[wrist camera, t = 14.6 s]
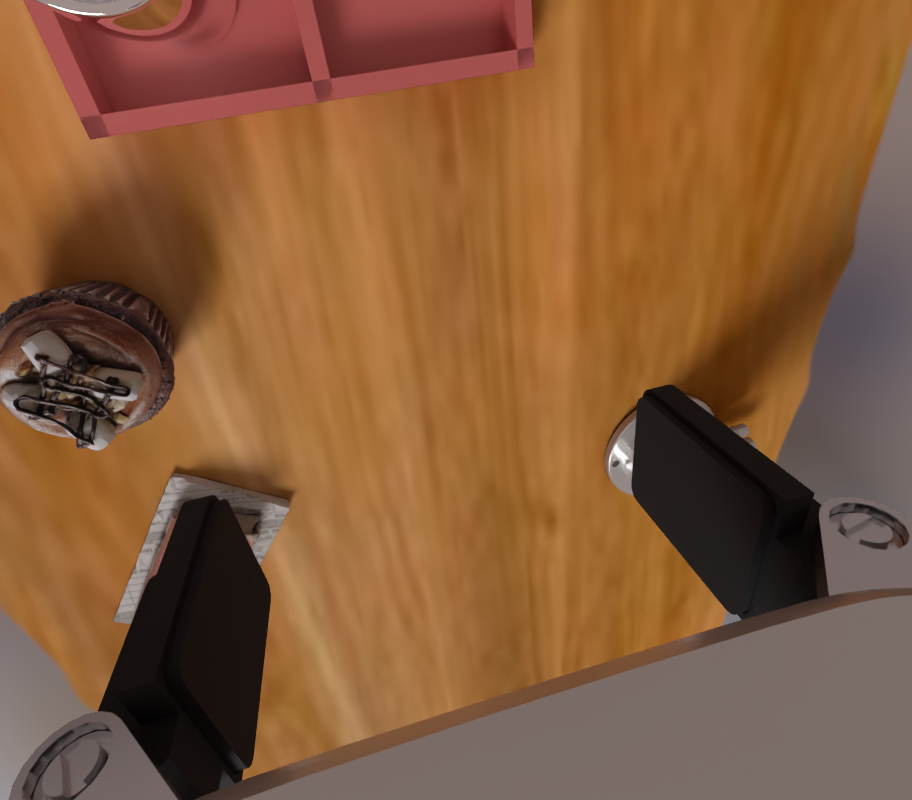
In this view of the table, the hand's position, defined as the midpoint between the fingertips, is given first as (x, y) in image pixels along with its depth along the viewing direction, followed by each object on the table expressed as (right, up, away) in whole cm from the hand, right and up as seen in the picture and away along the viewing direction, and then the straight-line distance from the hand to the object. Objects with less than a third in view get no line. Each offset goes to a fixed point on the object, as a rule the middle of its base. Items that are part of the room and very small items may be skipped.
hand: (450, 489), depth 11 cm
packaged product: (-24, -12, +35) cm, 44 cm away
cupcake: (-24, +7, +23) cm, 34 cm away
